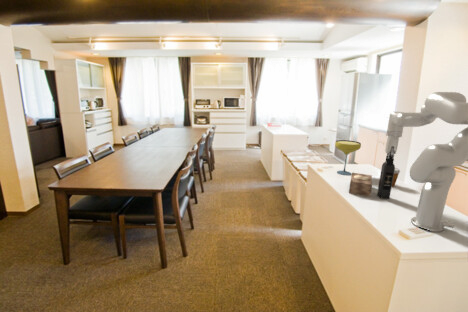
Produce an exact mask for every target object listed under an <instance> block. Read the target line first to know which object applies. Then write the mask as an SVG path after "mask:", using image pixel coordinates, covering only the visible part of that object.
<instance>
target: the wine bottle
mask: <svg viewBox="0 0 468 312" xmlns="http://www.w3.org/2000/svg"><path fill="white" fill-rule="evenodd" d="M390 153H391V152H390ZM388 154H389V153H388ZM387 158H388V157H387ZM386 163H387V161H386V160H385V161H384V162H383V163H382V165H381V168H380V176H379V181H378V187H377V193H376V196H377V198H378V199H380V200H381V199H382V200H390V198H391V192H392V188H393V187H392V182H393V177H394V171H395V168H396V166H395V163H393V166H390V165H386Z"/></svg>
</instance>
